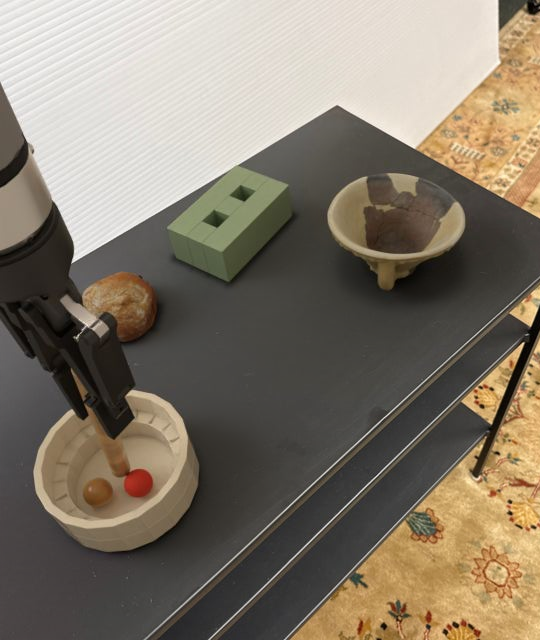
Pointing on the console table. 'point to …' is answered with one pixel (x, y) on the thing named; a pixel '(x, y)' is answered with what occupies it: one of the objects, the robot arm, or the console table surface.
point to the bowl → (395, 223)
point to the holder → (231, 222)
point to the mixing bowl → (90, 462)
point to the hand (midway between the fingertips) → (106, 417)
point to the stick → (107, 441)
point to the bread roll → (123, 303)
